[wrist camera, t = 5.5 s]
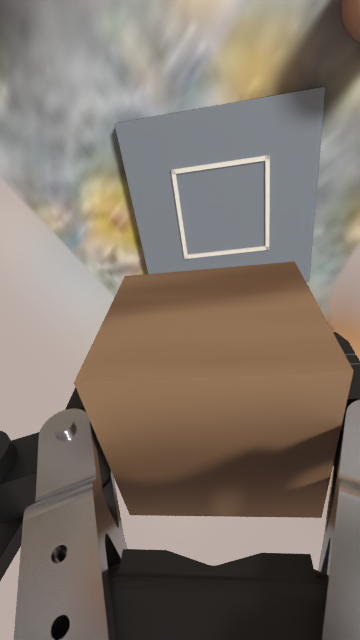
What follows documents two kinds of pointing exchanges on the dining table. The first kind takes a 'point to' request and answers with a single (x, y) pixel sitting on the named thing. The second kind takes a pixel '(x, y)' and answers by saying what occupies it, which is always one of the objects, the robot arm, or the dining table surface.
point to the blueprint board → (226, 182)
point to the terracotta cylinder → (351, 17)
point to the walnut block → (217, 393)
